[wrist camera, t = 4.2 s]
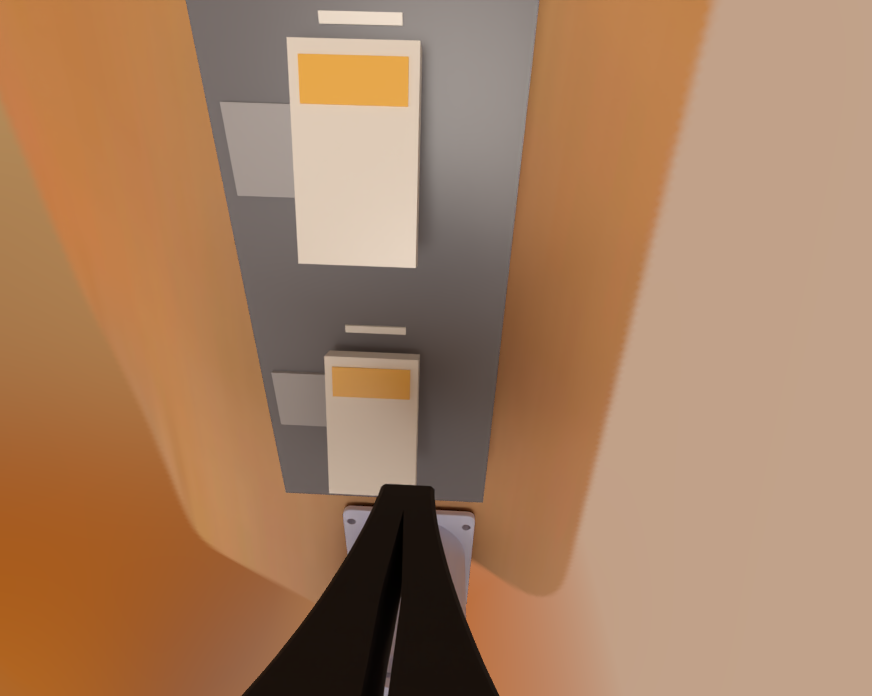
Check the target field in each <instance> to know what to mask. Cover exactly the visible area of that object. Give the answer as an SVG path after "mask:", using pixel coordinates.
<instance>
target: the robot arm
mask: <svg viewBox="0 0 872 696" xmlns="http://www.w3.org/2000/svg"><path fill="white" fill-rule="evenodd" d="M343 521H344V529H345V538H346V546H347V557H346V558H345V560H344V562H343V563H342V565H341V566H340V568H339V570H338V571H337V573H336V574H335V576H334V577H333V579H332V581H331V582H330V584H329V585H328V587H327V588H326V590H325V591H324V593H323V594H322V596H321V597H320V599H319V600H318V602H317V603H316V604H315V606H314V607H313V609H312V610H311V611H310V613H309V614H308V615H307V617H306V618H305V620H304V621H303V622H302V624H301V625H300V626H299V628H298V629H297V630H296V631H295V633H294V634H293V635H292V637H291V638H290V639H289V640H288V642H287V643H286V644H285V645H284V647H283V648H282V649H281V650H280V652H279V653H278V654H277V656H276V657H275V658H274V659H273V660H272V662H271V663H270V664H269V665H268V666H267V667H266V669H265V670H264V671H263V672H262V673H261V674H260V676H259V677H258V678H257V679H256V680H255V681H254V682H253V683H252V685H251V686H250V687H249V688H248V689H247V690H246V691H245V692H244V694H243V695H242V696H499V694H498V692H497V690H496V688H495V686H494V684H493V681H492V679H491V677H490V675H489V673H488V671H487V669H486V667H485V665H484V662H483V660H482V658H481V655H480V653H479V651H478V648H477V646H476V643H475V641H474V639H473V636H472V633H471V631H470V628H469V626H468V623H467V621H466V604H467V594H468V585H469V575H470V565H471V556H472V546H473V536H474V526H475V516H474V514H473V513H471V512H467V511H448V510H436V508H435V489H434V488H433V487H431V486H421V485H402V484H384V485H383V486H381V488H380V491H379V494H378V496H377V499H376V501H375V503H374V506H373V507H371V506H347V507H345V509H344V512H343Z"/></svg>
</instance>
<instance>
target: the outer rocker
mask: <svg viewBox="0 0 872 696" xmlns="http://www.w3.org/2000/svg"><path fill="white" fill-rule="evenodd" d="M287 56H288V75H289V94H290V114H291V133H292V152H293V171H294V190H295V209H296V228H297V247H298V264H324V265H350V266H375V267H401V268H416V267H417V265H418V224H419V179H420V134H421V90H422V47H421V41H417V40H379V39H341V38H303V37H287Z"/></svg>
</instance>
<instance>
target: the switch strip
mask: <svg viewBox="0 0 872 696" xmlns="http://www.w3.org/2000/svg"><path fill="white" fill-rule="evenodd" d="M186 4H187V9H188V14H189V19H190V24H191V29H192V34H193V39H194V44H195V48H196V53H197V58H198V63H199V68H200V73H201V78H202V83H203V88H204V93H205V98H206V102H207V107H208V112H209V117H210V122H211V127H212V132H213V137H214V142H215V147H216V152H217V156H218V161H219V166H220V171H221V176H222V181H223V186H224V191H225V196H226V201H227V206H228V210H229V215H230V220H231V225H232V230H233V235H234V240H235V245H236V250H237V255H238V260H239V264H240V269H241V274H242V279H243V284H244V289H245V294H246V299H247V304H248V309H249V314H250V318H251V323H252V328H253V333H254V338H255V343H256V348H257V353H258V358H259V363H260V368H261V372H262V377H263V382H264V387H265V392H266V397H267V402H268V407H269V412H270V417H271V422H272V426H273V431H274V436H275V441H276V446H277V451H278V456H279V461H280V466H281V471H282V476H283V480H284V485H285V490H286V492H287V493H306V494H326V495H345V496H365V497H377V496H372V495H352V494H333V493H329V476H328V448H327V421H326V393H325V365H324V356H325V355H326V354H327V353H328V352H329V351H330V350H334V351H357V352H380V353H403V354H420V370H419V408H418V447H417V485H421V486H431V487H433V488H434V489H435V500H443V501H463V502H483V496H484V487H485V479H486V470H487V461H488V452H489V443H490V434H491V425H492V416H493V407H494V398H495V390H496V381H497V372H498V363H499V354H500V345H501V336H502V327H503V318H504V309H505V301H506V292H507V283H508V274H509V265H510V256H511V247H512V238H513V229H514V221H515V212H516V203H517V194H518V185H519V176H520V167H521V158H522V149H523V140H524V132H525V123H526V114H527V105H528V96H529V87H530V78H531V69H532V60H533V51H534V43H535V34H536V25H537V16H538V7H539V0H186ZM287 37H303V38H341V39H379V40H417V41H421V47H422V90H421V134H420V179H419V224H418V265H417V267H416V268H401V267H375V266H350V265H324V264H298V247H297V228H296V209H295V190H294V171H293V152H292V133H291V114H290V94H289V75H288V56H287Z"/></svg>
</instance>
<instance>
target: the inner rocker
mask: <svg viewBox="0 0 872 696" xmlns="http://www.w3.org/2000/svg"><path fill="white" fill-rule="evenodd" d="M324 365H325V393H326V421H327V448H328V476H329V493H333V494H352V495H372V496H378V494H379V491H380V488H381V486H383V485H384V484H402V485H417V447H418V408H419V370H420V354H403V353H380V352H357V351H334V350H330V351H329V352H328V353H327V354H326V355H325V356H324Z"/></svg>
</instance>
